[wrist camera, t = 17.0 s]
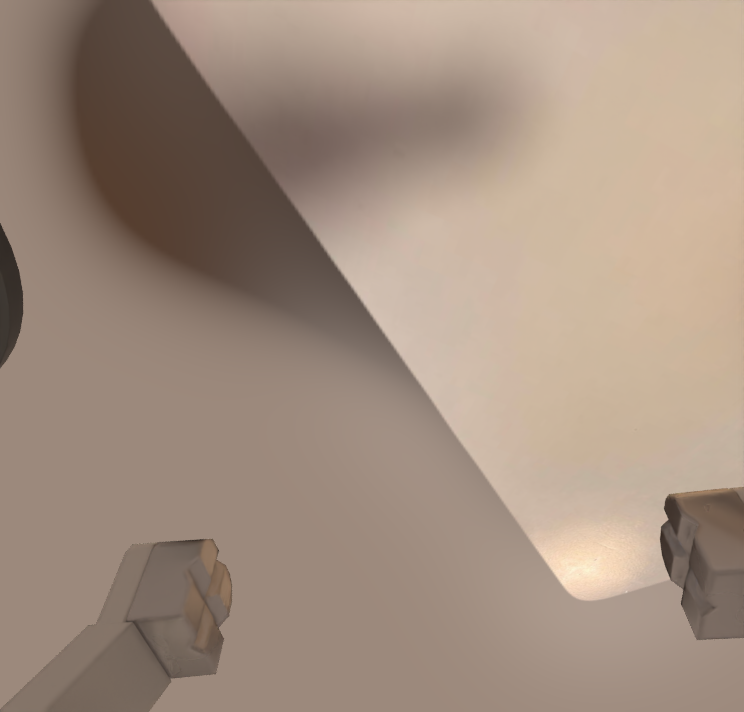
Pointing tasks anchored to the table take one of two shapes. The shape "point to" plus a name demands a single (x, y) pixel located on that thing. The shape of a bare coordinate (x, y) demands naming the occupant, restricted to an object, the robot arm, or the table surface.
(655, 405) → the table surface
